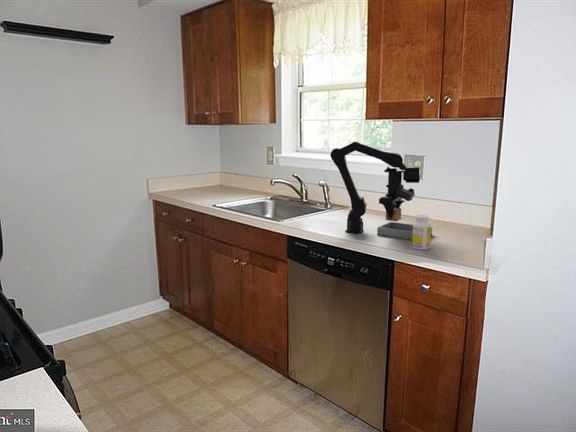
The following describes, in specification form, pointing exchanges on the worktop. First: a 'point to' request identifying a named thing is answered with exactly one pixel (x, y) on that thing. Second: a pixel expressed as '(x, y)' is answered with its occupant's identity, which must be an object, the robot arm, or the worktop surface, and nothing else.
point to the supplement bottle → (421, 233)
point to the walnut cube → (395, 215)
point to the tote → (397, 230)
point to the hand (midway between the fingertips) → (393, 217)
